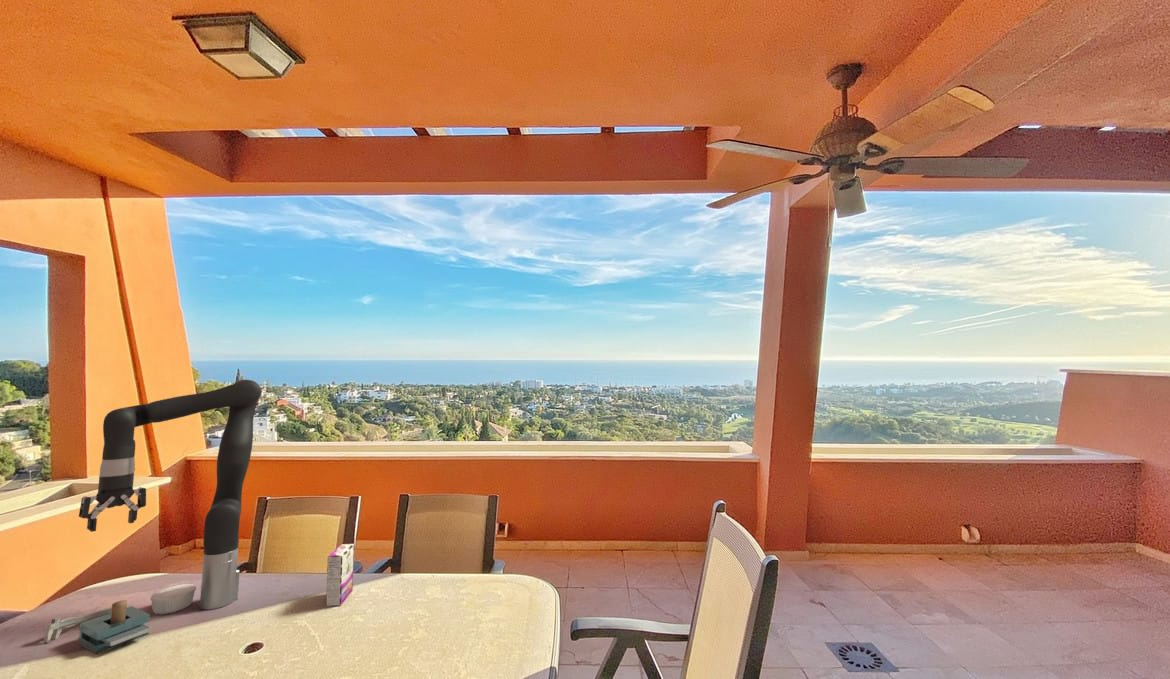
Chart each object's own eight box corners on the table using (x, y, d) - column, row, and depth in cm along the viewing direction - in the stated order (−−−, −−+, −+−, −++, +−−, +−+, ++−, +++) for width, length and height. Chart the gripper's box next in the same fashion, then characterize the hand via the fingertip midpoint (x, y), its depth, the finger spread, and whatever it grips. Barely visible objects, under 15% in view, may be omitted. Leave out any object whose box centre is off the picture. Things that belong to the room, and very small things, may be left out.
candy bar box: (337, 591, 160) (340, 543, 161) (352, 590, 160) (355, 543, 162) (324, 607, 149) (327, 556, 150) (340, 606, 149) (343, 555, 151)
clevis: (130, 624, 138) (131, 606, 138) (154, 637, 131) (156, 617, 132) (78, 643, 128) (80, 623, 129) (102, 658, 121) (104, 636, 122)
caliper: (47, 644, 128) (49, 621, 129) (43, 644, 128) (46, 621, 129) (122, 608, 148) (124, 588, 149) (119, 608, 148) (121, 588, 149)
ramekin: (172, 599, 154) (173, 583, 155) (204, 599, 154) (205, 583, 154) (139, 616, 143) (140, 599, 143) (173, 617, 143) (174, 599, 143)
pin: (120, 635, 132) (123, 599, 133) (125, 637, 131) (129, 601, 132) (106, 640, 130) (110, 604, 131) (111, 642, 129) (115, 606, 129)
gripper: (141, 467, 147) (137, 518, 146) (79, 476, 134) (73, 532, 133) (152, 469, 144) (148, 522, 142) (89, 478, 131) (84, 536, 130)
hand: (112, 526), depth 138 cm, fingers open, 8 cm apart
